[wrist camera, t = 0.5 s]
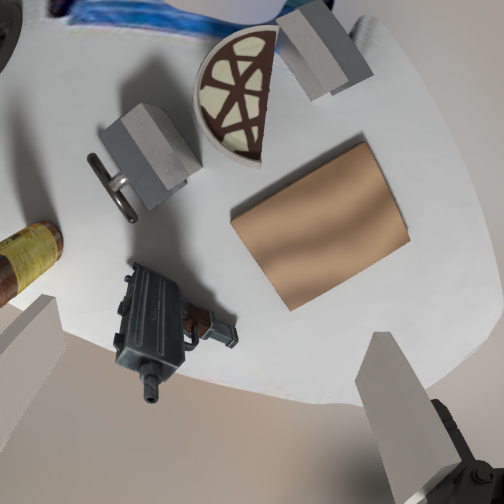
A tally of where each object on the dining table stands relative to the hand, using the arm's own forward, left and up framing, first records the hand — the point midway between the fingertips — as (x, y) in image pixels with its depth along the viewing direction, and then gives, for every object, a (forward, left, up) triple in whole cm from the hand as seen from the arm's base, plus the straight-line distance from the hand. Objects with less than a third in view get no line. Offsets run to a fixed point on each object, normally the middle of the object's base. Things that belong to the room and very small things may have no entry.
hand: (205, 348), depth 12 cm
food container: (-10, +6, -24) cm, 27 cm away
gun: (+6, -12, -24) cm, 28 cm away
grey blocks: (-10, +4, -24) cm, 26 cm away
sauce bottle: (-11, -24, -24) cm, 35 cm away
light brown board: (+7, +7, -24) cm, 26 cm away
